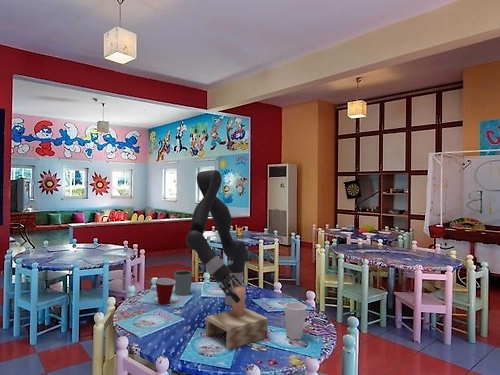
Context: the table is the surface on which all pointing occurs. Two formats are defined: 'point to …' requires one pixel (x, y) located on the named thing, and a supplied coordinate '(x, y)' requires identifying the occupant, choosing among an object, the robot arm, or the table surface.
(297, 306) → the foam cup
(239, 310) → the tan dome-topped peg
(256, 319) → the wooden stand
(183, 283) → the drinking glass
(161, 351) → the table surface
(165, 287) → the plastic cup
